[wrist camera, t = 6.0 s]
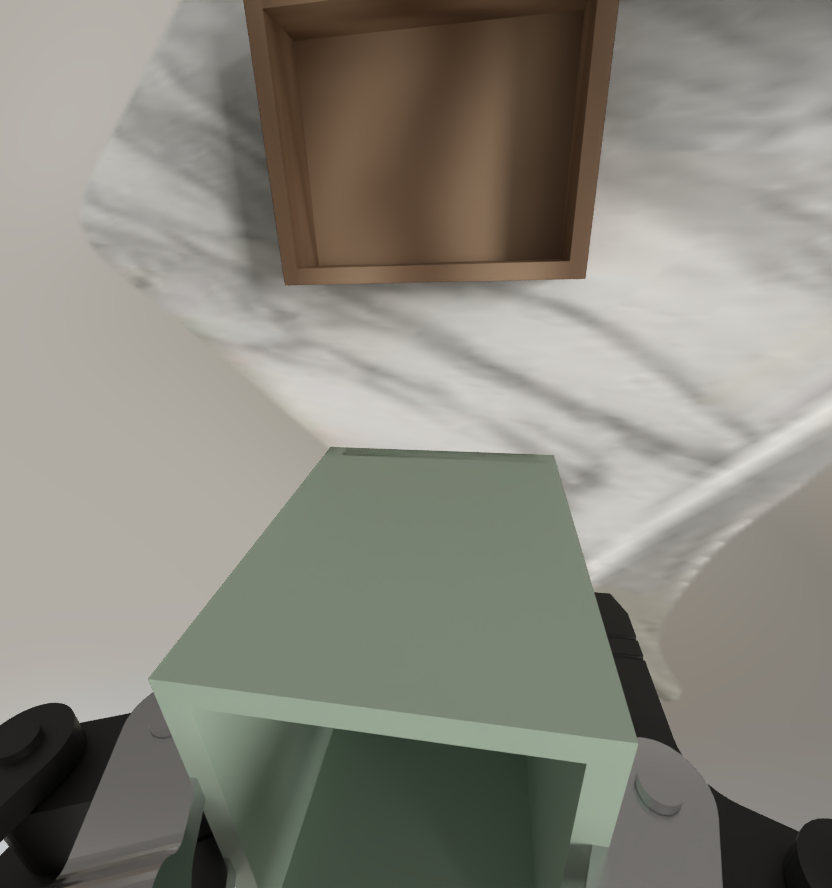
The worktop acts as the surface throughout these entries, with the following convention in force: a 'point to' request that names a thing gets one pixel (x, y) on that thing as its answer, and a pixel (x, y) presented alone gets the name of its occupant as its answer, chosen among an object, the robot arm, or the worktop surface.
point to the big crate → (432, 135)
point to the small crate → (406, 683)
